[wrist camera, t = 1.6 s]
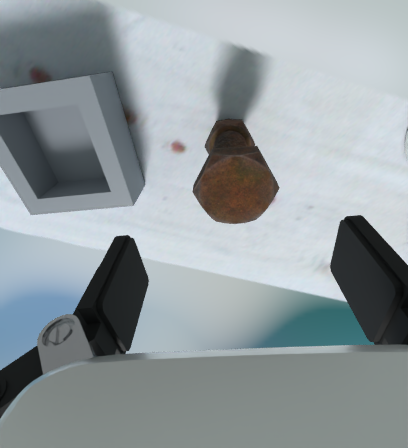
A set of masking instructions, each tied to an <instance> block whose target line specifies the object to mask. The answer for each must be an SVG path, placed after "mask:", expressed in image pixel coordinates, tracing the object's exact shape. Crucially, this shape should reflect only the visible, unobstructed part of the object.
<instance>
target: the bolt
mask: <svg viewBox="0 0 408 448" xmlns="http://www.w3.org/2000/svg"><path fill="white" fill-rule="evenodd" d="M205 148H206V150H207V152H208V154H209V156H208V158H207V160H206V162H205V164H204V166H203V168H202V170H201V171H200V173H199V175H198V177H197V179H196V181H195V183H194V186H193V193H194V195H195V197H196V198H197V200H198V202H199V203H200V205H201V206H202V208H203V209H204V210H205V211H206V212H207V214H208V215H209V216H210V217H211V218H212V219H213V220H215V221H217V222H222V223H229V224H238V223H246V222H250V221H253V220H256V219H257V218H258V217H260V216H261V215H262V214H263V213H264V212H265V210H266V209H267V208H268V206H269V205H270V204H271V202H272V200H273V199H274V197H275V195H276V193H277V192H278V190H279V186H278V184H277V181H276V179H275V178H274V176H273V174H272V172H271V170H270V169H269V167H268V165H267V163H266V161H265V159H264V158H263V156H262V154H261V152H260V150H259V149H258V147H257V146H255V143H254V141H253V139H252V137H251V135H250V133H249V131H248V129H247V128H246V126H245V124H244V122H243V121H242V120H241V119H225V120H221V121H216V123H215V125H214V126H213V128H212V130H211V133H210V135H209V137H208V139H207V141H206V144H205Z"/></svg>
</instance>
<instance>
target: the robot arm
mask: <svg viewBox="0 0 408 448" xmlns="http://www.w3.org/2000/svg"><path fill="white" fill-rule="evenodd" d="M405 154H406V157H407V160H408V131H407V134H406V140H405ZM330 268H331V272H332V274H333V276H334V278H335V280H336V281H337V283H338V285H339V287H340V289H341V291H342V293H343V294H344V296H345V298H346V300H347V302H348V304H349V305H350V307H351V309H352V311H353V313H354V315H355V316H356V318H357V320H358V322H359V324H360V326H361V327H362V329H363V331H364V333H365V335H366V337H367V339H368V340H369V341H370V342H374V344H375V345H346V346H345V345H343V346H313V347H312V346H311V347H281V348H254V349H253V348H252V349H225V350H202V351H201V350H200V351H177V352H152V353H135V354H125V353H126V351H129V349H130V347H131V343H132V340H133V337H134V333H135V329H136V326H137V323H138V319H139V315H140V312H141V308H142V305H143V301H144V298H145V294H146V291H147V287H148V282H149V280H148V276H147V273H146V270H145V268H144V265H143V262H142V259H141V257H140V254H139V251H138V249H137V246H136V243H135V241H134V239H133V238H130V236H128V235H125V236H116V237H115V238H114V240H113V242H112V244H111V246H110V248H109V249H108V251H107V253H106V255H105V257H104V259H103V261H102V263H101V264H100V266H99V267H98V269H97V270H96V272H95V274H94V276H93V278H92V280H91V281H90V283H89V285H88V287H87V289H86V291H85V293H84V294H83V296H82V298H81V300H80V302H79V304H78V306H77V308H76V310H75V312H74V313H73V315H72V314H66V315H62V316H60V317H57V318H55V319H54V320H52V321H51V322H49V323H48V324H47V325H46V326H45V327H44V328H43V330H42V331H41V333H40V334H39V337H38V339H37V340H38V341H37V346H36V347H34V348H33V349H32V350H30V351H29V352H27V353H26V354H24V355H23V356H21V357H20V358H19V359H17V360H15V361H14V362H12V363H11V364H9V365H8V366H6V367H5V368H3V369H2V370H0V448H408V265H407V264H406V263H405V262H404V261H403V260H402V258H401V257H400V256H399V255H398V254H397V253H396V252H395V251H394V250H393V249H392V248H391V246H390V245H389V244H388V243H387V242H386V241H385V240H384V239H383V238H382V237H381V236H380V235H379V233H378V232H377V231H376V230H375V229H374V228H373V227H372V226H371V225H370V224H369V223H368V221H367V220H366V219H365V218H364V217H363V216H361V215H358V216H347V217H345V218H344V220H341V222H340V225H339V229H338V234H337V238H336V242H335V247H334V251H333V256H332V260H331V265H330Z"/></svg>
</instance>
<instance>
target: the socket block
mask: <svg viewBox="0 0 408 448" xmlns="http://www.w3.org/2000/svg"><path fill="white" fill-rule="evenodd" d="M0 166H1V168H2V170H3V171H4V173H5V174H6V176H7V178H8V179H9V181H10V182H11V184H12V185H13V187H14V189H15V190H16V192H17V193H18V195H19V197H20V198H21V200H22V201H23V203H24V205H25V206H26V208H27V209H28V211H29V213H30V214H31V215H37V214H48V213H59V212H70V211H81V210H92V209H103V208H114V207H125V206H134V204H135V202H136V200H137V199H138V197H139V195H140V193H141V191H142V190H143V188H144V186H145V183H144V179H143V176H142V172H141V169H140V165H139V162H138V159H137V155H136V152H135V148H134V145H133V141H132V138H131V134H130V131H129V128H128V124H127V121H126V117H125V114H124V110H123V107H122V103H121V100H120V97H119V93H118V90H117V86H116V83H115V79H114V76H113V73H112V72H106V73H100V74H94V75H87V76H81V77H74V78H68V79H61V80H55V81H49V82H42V83H36V84H29V85H23V86H17V87H10V88H4V89H0Z"/></svg>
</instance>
